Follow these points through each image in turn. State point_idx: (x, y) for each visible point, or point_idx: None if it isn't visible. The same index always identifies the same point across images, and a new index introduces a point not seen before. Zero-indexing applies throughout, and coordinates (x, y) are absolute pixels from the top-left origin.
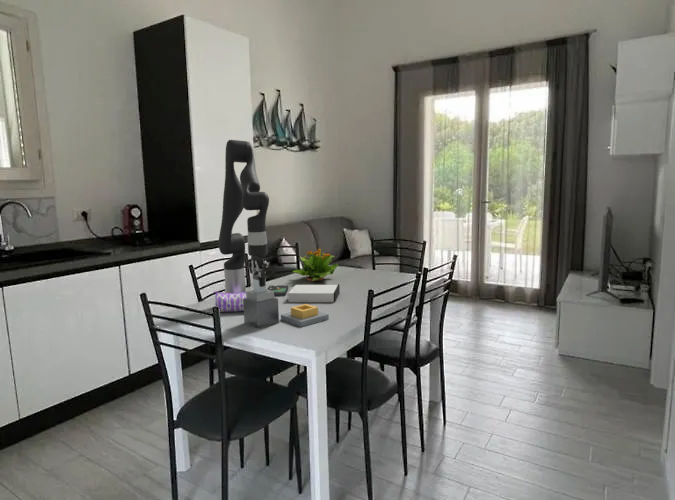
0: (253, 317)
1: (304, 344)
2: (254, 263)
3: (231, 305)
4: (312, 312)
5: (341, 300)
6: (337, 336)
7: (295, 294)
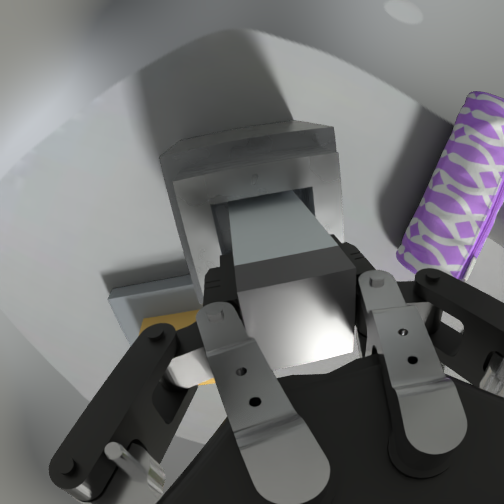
0: (209, 137)
1: None
2: (391, 413)
3: (455, 142)
4: None
5: None
6: (13, 323)
7: None
